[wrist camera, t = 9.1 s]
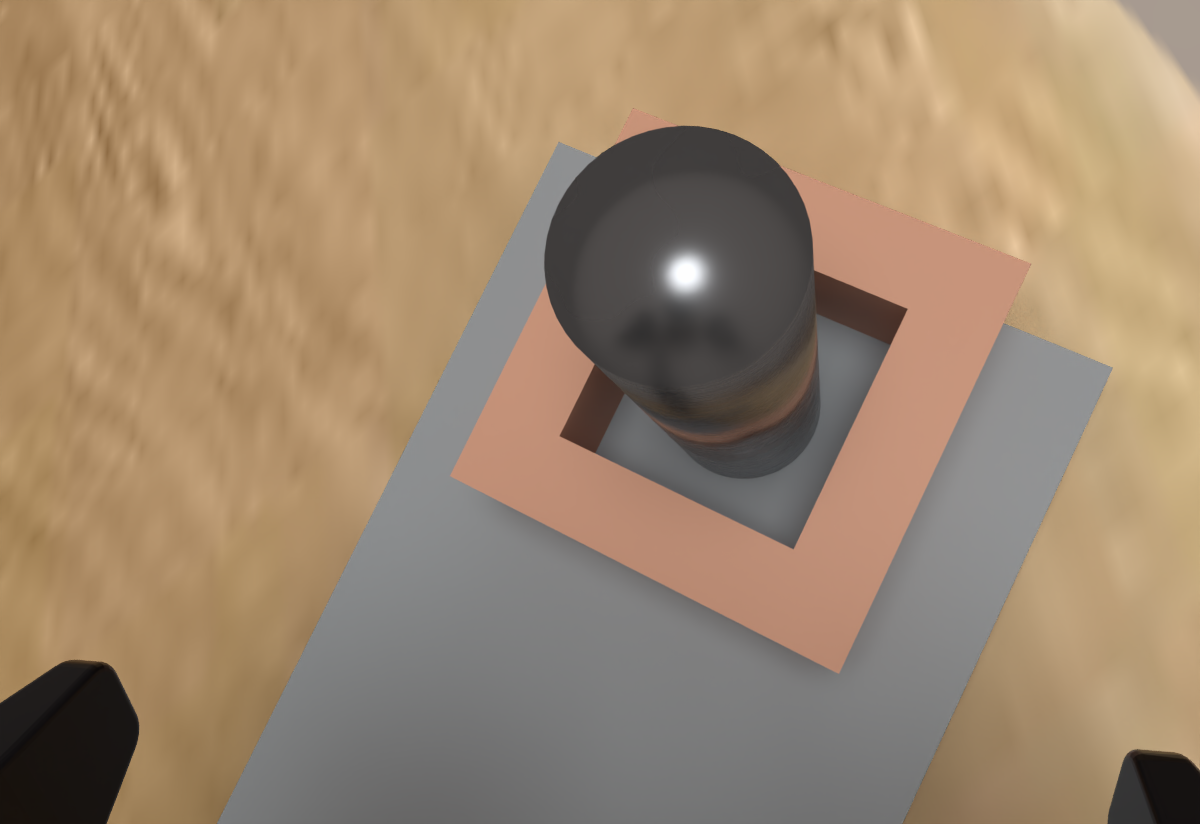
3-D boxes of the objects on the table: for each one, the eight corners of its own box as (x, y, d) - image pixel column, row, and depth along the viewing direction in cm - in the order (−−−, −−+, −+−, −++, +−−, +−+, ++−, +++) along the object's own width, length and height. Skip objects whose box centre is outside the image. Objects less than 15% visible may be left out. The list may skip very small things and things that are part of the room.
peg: (780, 504, 21) (739, 431, 12) (644, 440, 22) (499, 322, 12) (846, 366, 21) (859, 183, 12) (708, 307, 22) (614, 88, 13)
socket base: (680, 1282, 21) (645, 1452, 16) (181, 942, 24) (47, 1015, 19) (1102, 368, 22) (1167, 316, 18) (576, 153, 25) (527, 66, 21)
